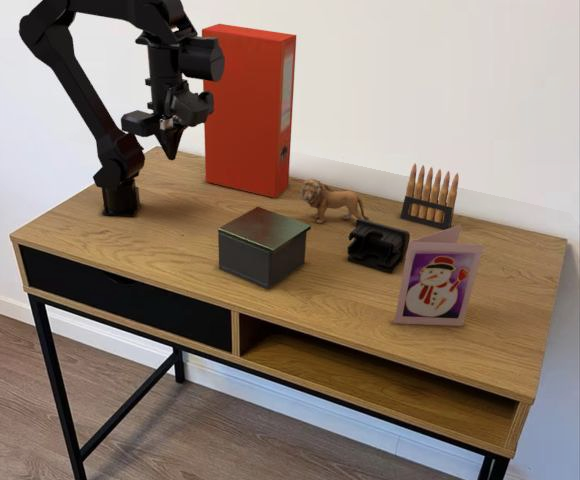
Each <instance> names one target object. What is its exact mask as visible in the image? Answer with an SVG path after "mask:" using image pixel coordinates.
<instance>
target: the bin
mask: <svg viewBox="0 0 580 480" xmlns="http://www.w3.org/2000/svg"><path fill="white" fill-rule="evenodd" d="M307 232H308V231H307ZM307 232H306V233H304V234H303V235H301V236H300V237H298V238H296V239H295V240H293V241H292V242H290V243H289V244H287V245H286V246H284V247H283V248H281V249H280V250H278V251H277V252H275V253H273V254H272V253H270V252H267V251H265V250H262V249H260V248H257V247H255V246H252V245H249V244H247V243H244V242H242V241H239V240H237V239H234V238H232V237H229V236H226V235H224V234H221V233H219V232H217V238H218V240H217V241H218V242H217V243H218V269H219V270H220V271H224V272H226V273H228V274H230V275H233V276H235V277H238V278H240V279H242V280H245V281H247V282H250V283H252V284H254V285H257V286H259V287H262V288H264V289H267V290H269V289H271V288H272V287H274V286H275V285H276V284H278V283H279V282H281V281H282V280H283V279H285V278H286V277H288V276H289V275H290V274H291V273H293V272H295V271H296V270H297V269H299V268H301V267H302V266H303V265H304V264H305V263H306V262H305V259H306V248H307V234H308V233H307Z"/></svg>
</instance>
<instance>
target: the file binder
mask: <svg viewBox="0 0 580 480" xmlns="http://www.w3.org/2000/svg"><path fill="white" fill-rule="evenodd" d="M201 37H216V38H218V39H219V46H220V47H221V48H222V51H223V56H224V57H225V67H224V72H223V75H222V78H221V79H220V80H219V81H218V82H213V81H207V80H202V85H203V87H202V92H204V91H207V90H208V91H210V92H211V93H212V94H213V97H214V107H213V108H214V112H213V114H210V115H208V117H207V121H206V123H203V125H204V126H203V127H204V160H205V161H204V163H205V168H204V169H205V182H206V183H210V184H215V185H220V186H223V187H226V188H227V187H228V188H231V189H236V190H240V191H245V192H248V193H253V194H257V195H262V196H265V197H270V198H277V197H278V196H279V195H281V193H283V192H284V190H286V189H287V188H288V187H289V180H290V179H289V178H290V162H291V143H292V128H293V127H292V126H293V107H294V105H293V104H294V88H295V87H294V86H295V69H296V52H297V51H296V50H297V34H293V33H285V32H279V31H272V30H265V29H259V28H251V27H245V26H239V25H238V26H237V25H232V24H224V23H218V24H214V25H210V26H208V27H204V28H201Z"/></svg>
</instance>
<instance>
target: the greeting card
mask: <svg viewBox="0 0 580 480" xmlns="http://www.w3.org/2000/svg"><path fill="white" fill-rule="evenodd" d="M461 227H462V224H457V225H455V226H453V227H452V226H451V228H449V229H446V230H444V229H442V230H440V231H437V232H434V233H430V234H429V235H425V236H421V237H419V238H416V239H412V240H409V244H408V249H407V252H406V254H405V261H404V267H403V272H402V276H401V277H402V278H401V283H400V289H399V294H398V299H397V305H396V310H395V314H394V315H395V316H394V320H393V323H394V324H404V325H405V324H407V325H431V326H459V327H463V326H464V322H465V319H466V315H467V312H468V308H469V304H470V301H471V300H470V299H471V296H472V292H473V288H474V285H475V280H476V278H477V273H478V269H479V265H480V263H481V262H480V261H481V258H482V255H483V251H484V247H485V244H471V243H458V240H459V236H460V232H461Z"/></svg>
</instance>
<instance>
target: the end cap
mask: <svg viewBox="0 0 580 480" xmlns="http://www.w3.org/2000/svg"><path fill="white" fill-rule="evenodd" d="M355 223H356V225H355V228H354V229H352V231H350V233H349V235H348V241H349V242H350V241H352V240H353V241H352V242H350V244H349V245H348V246H347V247H346V249H347V250H346V251H347V255H348V256H347V261H348V262H350V263H353V264H357V265H360V266H363V267H367V268H371V269H374V270H378V271H380V272H383V273H388V274H392V273H393V272H394V271H395V270H396V269H397V267H398V266H399V265H400V263H401V262H403V261H404V258H406V255H407V250H408V244H409V242H410V241H411V239H410V238H411V234H410V232H409V231H408V230H403V229H400V228H396V227H393V226H389V225H385V224H382V223H378V222H375V221H371V220H365V219H364V218H362V219H356V220H355Z"/></svg>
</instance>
